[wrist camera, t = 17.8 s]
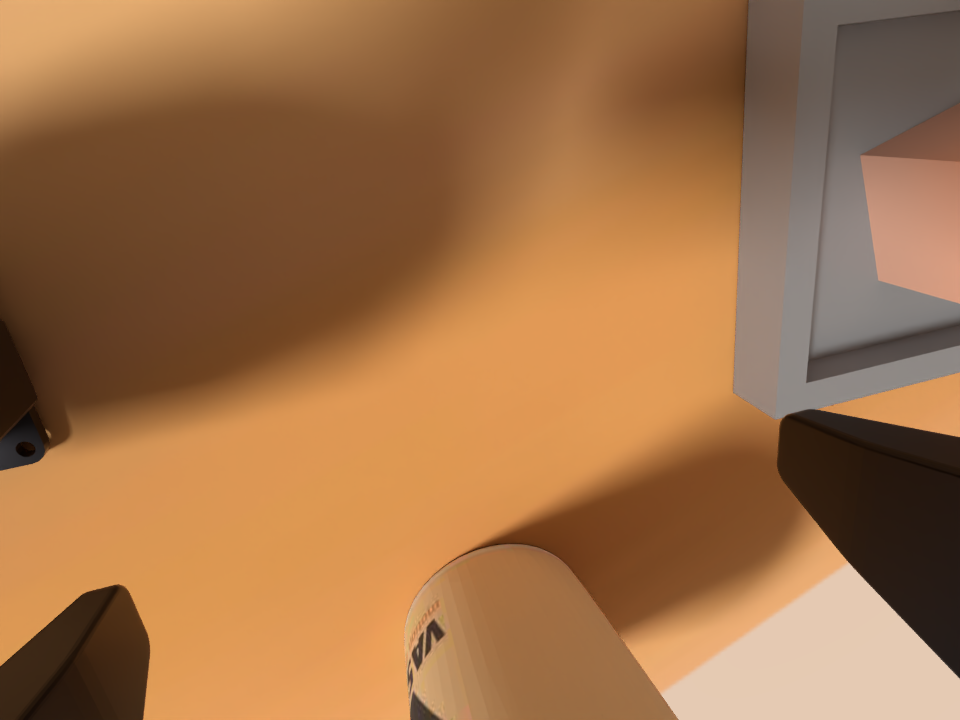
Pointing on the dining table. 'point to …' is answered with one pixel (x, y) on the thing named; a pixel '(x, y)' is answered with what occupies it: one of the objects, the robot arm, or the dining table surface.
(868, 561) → the robot arm
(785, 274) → the grey square tray
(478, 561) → the coffee cup
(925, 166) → the terracotta block
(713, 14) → the dining table surface
